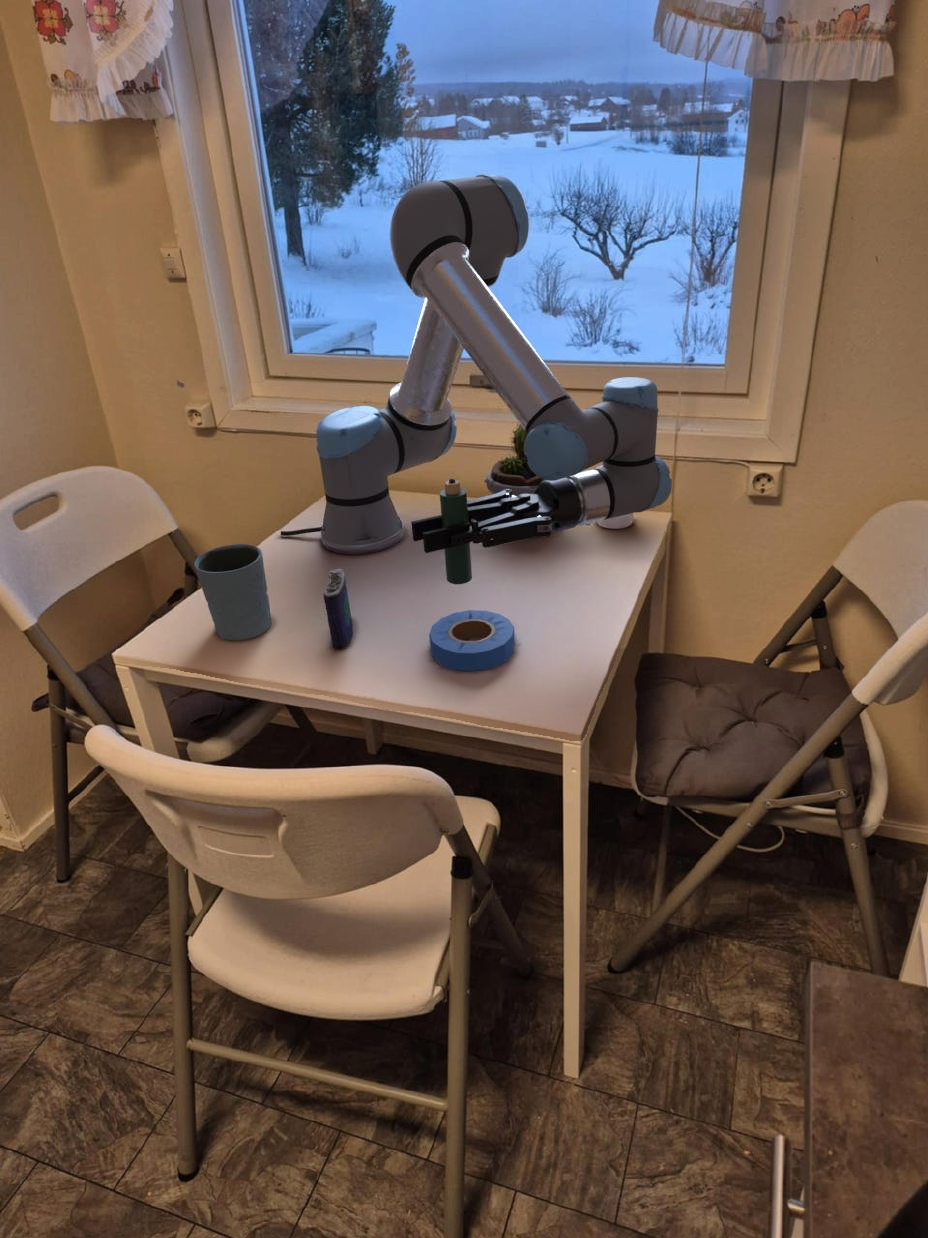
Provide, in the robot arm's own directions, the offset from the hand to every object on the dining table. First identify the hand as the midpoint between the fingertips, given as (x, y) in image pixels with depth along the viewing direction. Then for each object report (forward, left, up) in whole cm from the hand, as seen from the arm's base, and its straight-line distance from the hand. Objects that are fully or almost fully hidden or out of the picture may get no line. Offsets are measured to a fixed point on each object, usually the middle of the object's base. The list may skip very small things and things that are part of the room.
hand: (418, 537), depth 115 cm
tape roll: (+5, +3, -18) cm, 19 cm away
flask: (-15, -2, -18) cm, 23 cm away
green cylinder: (+3, +4, -8) cm, 9 cm away
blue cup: (-31, -7, -18) cm, 36 cm away
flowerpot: (-8, +45, -18) cm, 49 cm away
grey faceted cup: (+6, +53, -18) cm, 57 cm away
